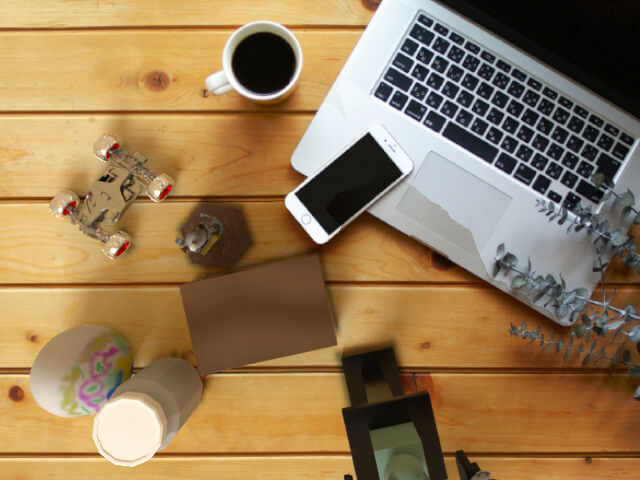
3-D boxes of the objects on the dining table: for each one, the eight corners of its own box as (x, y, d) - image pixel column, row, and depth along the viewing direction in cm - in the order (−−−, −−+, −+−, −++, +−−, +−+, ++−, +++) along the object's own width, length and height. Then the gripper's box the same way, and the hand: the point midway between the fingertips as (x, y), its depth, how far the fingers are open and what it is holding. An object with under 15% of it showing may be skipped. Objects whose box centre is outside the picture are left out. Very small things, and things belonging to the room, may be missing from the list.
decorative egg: (132, 408, 79) (86, 449, 64) (54, 389, 79) (-10, 424, 64) (151, 330, 79) (110, 352, 64) (73, 310, 79) (14, 327, 64)
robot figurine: (217, 187, 78) (198, 178, 66) (265, 227, 78) (253, 225, 66) (170, 243, 78) (142, 244, 66) (217, 283, 78) (197, 291, 66)
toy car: (120, 260, 79) (105, 262, 73) (57, 212, 79) (38, 210, 74) (180, 181, 78) (170, 177, 73) (117, 133, 78) (102, 125, 73)
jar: (131, 405, 79) (73, 454, 61) (154, 345, 79) (103, 377, 61) (191, 429, 79) (150, 486, 61) (214, 369, 78) (181, 408, 60)
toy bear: (420, 460, 52) (439, 504, 44) (377, 469, 52) (388, 515, 44) (412, 421, 52) (429, 457, 44) (369, 430, 52) (377, 468, 44)
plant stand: (408, 399, 78) (448, 479, 52) (349, 412, 78) (360, 498, 52) (395, 340, 78) (429, 392, 52) (336, 353, 78) (341, 411, 52)
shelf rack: (336, 329, 78) (337, 345, 67) (217, 356, 78) (198, 375, 67) (318, 252, 78) (317, 254, 67) (199, 278, 78) (178, 285, 67)
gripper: (311, 733, 28) (317, 542, 45) (633, 666, 27) (514, 500, 44) (281, 596, 27) (298, 457, 45) (603, 527, 27) (496, 414, 44)
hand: (406, 478), depth 44 cm, fingers open, 9 cm apart
